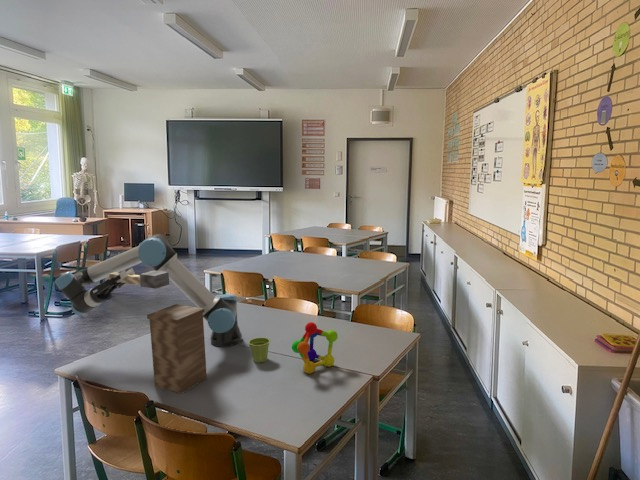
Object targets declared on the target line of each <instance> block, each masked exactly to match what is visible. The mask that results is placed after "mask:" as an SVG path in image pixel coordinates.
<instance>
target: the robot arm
mask: <svg viewBox="0 0 640 480" xmlns="http://www.w3.org/2000/svg"><path fill="white" fill-rule="evenodd" d="M139 264H143V265H146V266H149V267H152V269H153V270H154V271H163V272H169V281H170V282H171V283H173V284H174V285H175V286H176V287H177V288H178V289H179V290H180V291H181V292H182V293H183V294H184V295H185V296H186V297H187V298H188V299H189V300H190V301H191V302H192V303H193V304H194V305H195V307H198V308H204V311H205V312H204V313H203V319H205V321H207V326H208V327H209V329H210V330H211V334H210V345H213V346H215V347H229V346H234V345H237V344H239V343H241V342H242V341H243V335H242V332H241V329H240V327H239V325H238V324H239V323H238V305H237V301H238V300H237V296H236V295H235V294H231V293H230V294H229V293H227V294H226V293H225V294H217V295H214V294H213V293H212V291H210V290H209V289H208V288H207V287H206V286H205V285H204V284H203V282H201V281H200V280H199V279H198V278H197V277H196V276H195V275H194V274H193V273H192V272H191V271H190V270H189V269H188V268H187V267H186V266H185V265H184V264H183V263H182V262H181V261H180V259H178V253H177V252H176V251H175V250H174V249H173V243H172V241H171V240H170V238H169V237H167V236H166V235H165V234H160V233H156V234H153V235H151V236H149V237H147V238H145V239H144V240H143V241H142V242H140V243H139V245H138V246H135V247H133V248H131V249H128V250H126V251H124V252H121V253H119V254H116V255H115V256H112V257H109V258H107V259H105V260H103V261H101V262H97V263H95V264H94V265H93V264H92V265H91V266H89V267H86V268H84V269H80V270H78V271H76V272H75V273H72V272H71V271H67V272H66V271H65V273H63V274H62V275H60V276H59V277H58V278H56V279H55V280H54V284H55V285H56V287H58V289H59V290H60V291H61V292H62V294H64V295H65V297H67V299H69V301H70V302H71V310H72V311H71V312H73V314H75V315H76V316H85V315H86V314H89V313H90V312H91V311H93V310H94V309H96V308H98V307H100V305H101V304H102V303H104V302H105V301H107V300H108V299H110V297H111V294H112V292H114V291H115V290H117V289H121V288H122V286H124V285H125V284H126V283H122V282H120V281H122V280H123V279H124V278H126V277H127V276H128V275H127V274H134V275H136V272H135V270H134V269H133V267H134V266H137V265H139ZM127 269H128V270H127ZM126 270H127V271H126ZM114 272H117V273H119V274H118V275H116V276H115V278H111V279H106V278H109V274H110V273H114ZM103 279H106V280H105V281H104V282H102V283H97V282H100V281H101V280H103ZM95 283H97V284H96V285H95V286H93V287H91V288H90V289H89V290H87V289H86V287H87V286H90V285H92V284H95Z"/></svg>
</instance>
